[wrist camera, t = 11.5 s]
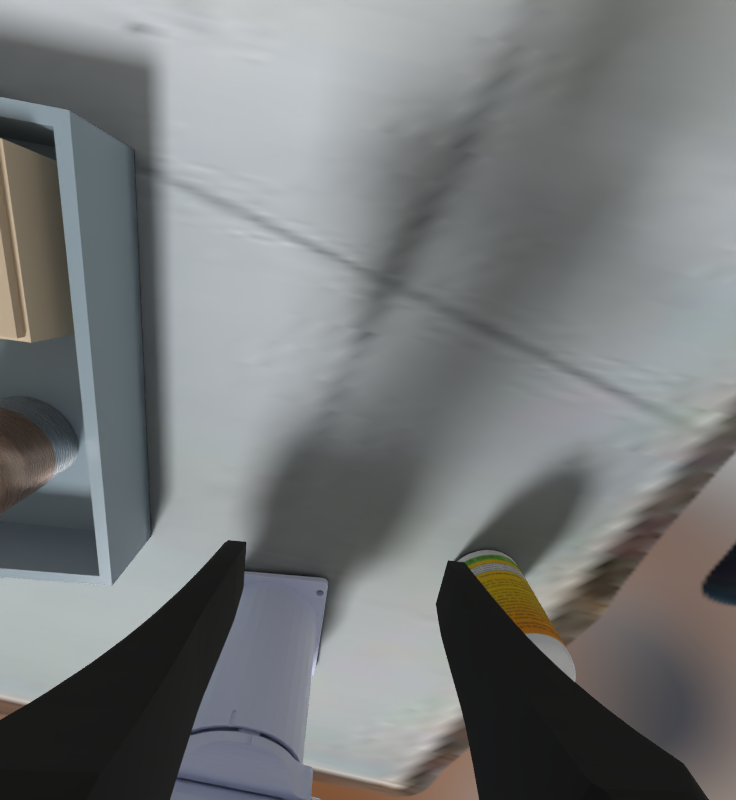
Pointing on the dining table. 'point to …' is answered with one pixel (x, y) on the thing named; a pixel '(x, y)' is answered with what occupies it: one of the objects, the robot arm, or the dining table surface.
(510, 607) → the supplement bottle
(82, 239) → the tote
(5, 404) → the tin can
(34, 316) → the plain tan box
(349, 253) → the dining table surface
